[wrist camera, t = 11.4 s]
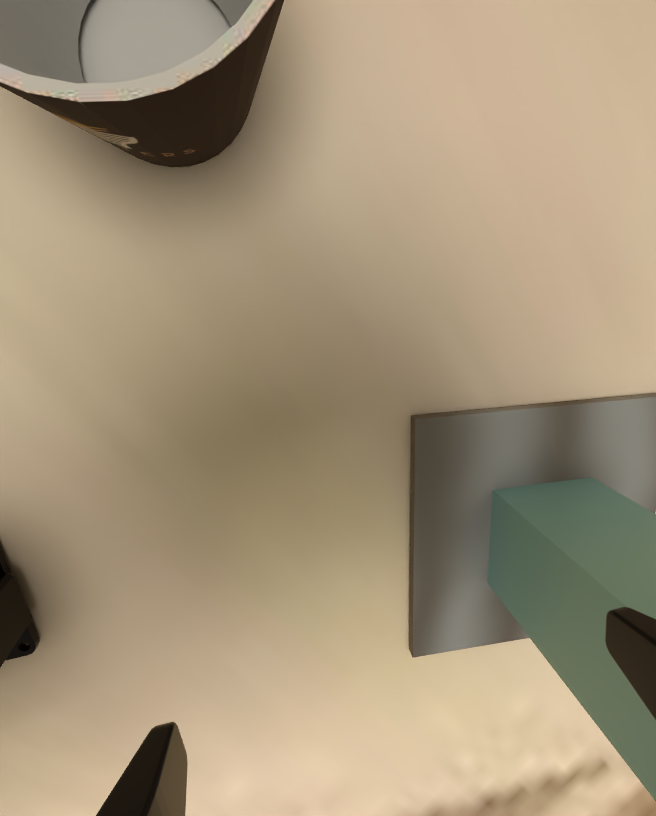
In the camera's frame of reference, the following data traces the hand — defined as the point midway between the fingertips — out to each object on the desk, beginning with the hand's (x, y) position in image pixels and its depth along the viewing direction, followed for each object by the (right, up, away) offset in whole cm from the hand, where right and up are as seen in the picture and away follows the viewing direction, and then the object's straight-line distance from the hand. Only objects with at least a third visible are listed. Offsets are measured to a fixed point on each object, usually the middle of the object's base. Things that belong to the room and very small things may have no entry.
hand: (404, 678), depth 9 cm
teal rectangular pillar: (+10, -1, +15) cm, 18 cm away
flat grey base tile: (+10, -1, +16) cm, 18 cm away
